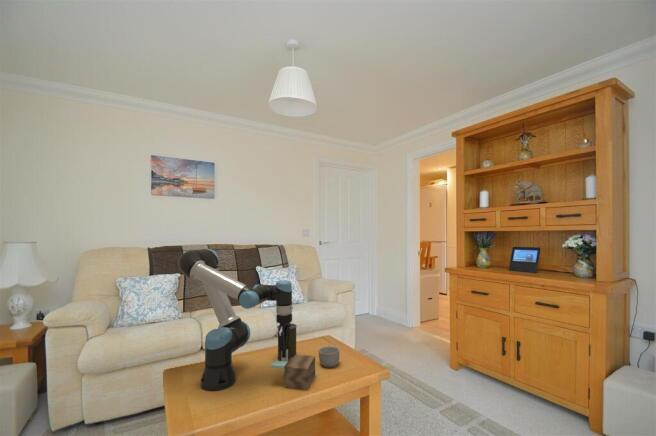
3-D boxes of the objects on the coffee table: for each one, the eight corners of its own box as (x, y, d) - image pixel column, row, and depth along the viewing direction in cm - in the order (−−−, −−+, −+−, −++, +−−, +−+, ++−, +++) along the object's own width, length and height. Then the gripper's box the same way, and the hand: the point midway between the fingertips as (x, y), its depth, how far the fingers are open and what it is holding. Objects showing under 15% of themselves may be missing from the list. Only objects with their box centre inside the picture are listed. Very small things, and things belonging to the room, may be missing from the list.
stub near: (270, 367, 143) (270, 365, 143) (274, 363, 148) (274, 360, 148) (285, 369, 142) (285, 366, 142) (289, 364, 147) (289, 361, 147)
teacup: (337, 370, 158) (337, 354, 158) (316, 368, 160) (316, 352, 160) (341, 359, 172) (341, 344, 172) (322, 357, 174) (322, 342, 174)
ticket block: (285, 387, 141) (285, 366, 141) (295, 373, 155) (295, 354, 155) (307, 390, 139) (307, 368, 139) (315, 375, 153) (315, 356, 153)
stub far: (283, 375, 149) (281, 373, 149) (287, 370, 154) (285, 369, 154) (290, 362, 149) (288, 361, 149) (293, 358, 153) (291, 356, 154)
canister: (278, 354, 178) (277, 318, 178) (296, 354, 179) (296, 318, 179) (276, 363, 167) (276, 324, 167) (296, 362, 168) (296, 324, 169)
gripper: (287, 317, 145) (287, 369, 145) (295, 310, 158) (296, 358, 157) (271, 316, 147) (272, 368, 146) (281, 309, 160) (282, 357, 159)
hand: (284, 363), depth 152 cm, fingers closed
